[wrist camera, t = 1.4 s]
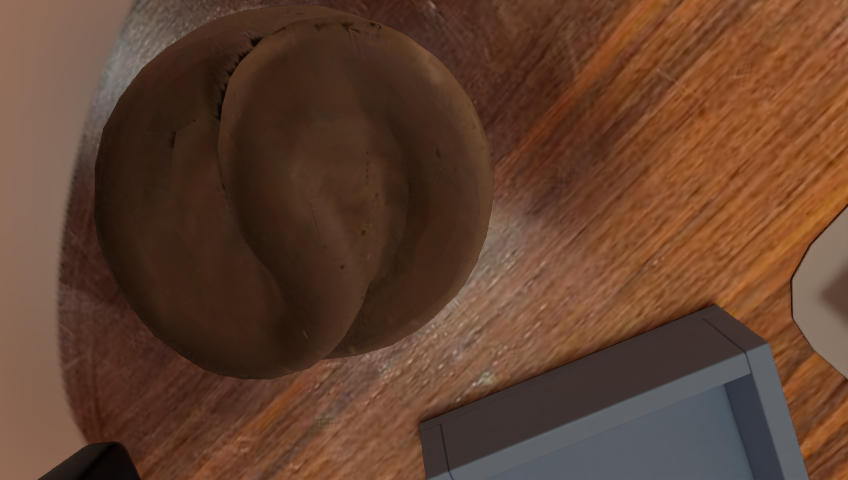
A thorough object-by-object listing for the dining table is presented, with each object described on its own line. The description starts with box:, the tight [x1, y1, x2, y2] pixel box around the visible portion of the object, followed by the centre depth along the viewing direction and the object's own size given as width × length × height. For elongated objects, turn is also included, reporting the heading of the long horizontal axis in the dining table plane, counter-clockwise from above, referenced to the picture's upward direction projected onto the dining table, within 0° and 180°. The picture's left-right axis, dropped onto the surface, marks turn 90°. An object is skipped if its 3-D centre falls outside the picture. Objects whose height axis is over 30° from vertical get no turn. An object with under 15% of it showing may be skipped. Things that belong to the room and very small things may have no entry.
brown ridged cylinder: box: [94, 5, 494, 380], centre depth 16 cm, size 6×6×15 cm
